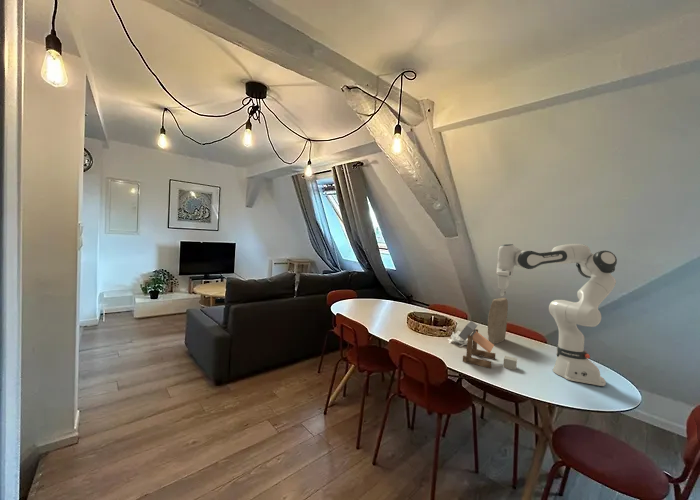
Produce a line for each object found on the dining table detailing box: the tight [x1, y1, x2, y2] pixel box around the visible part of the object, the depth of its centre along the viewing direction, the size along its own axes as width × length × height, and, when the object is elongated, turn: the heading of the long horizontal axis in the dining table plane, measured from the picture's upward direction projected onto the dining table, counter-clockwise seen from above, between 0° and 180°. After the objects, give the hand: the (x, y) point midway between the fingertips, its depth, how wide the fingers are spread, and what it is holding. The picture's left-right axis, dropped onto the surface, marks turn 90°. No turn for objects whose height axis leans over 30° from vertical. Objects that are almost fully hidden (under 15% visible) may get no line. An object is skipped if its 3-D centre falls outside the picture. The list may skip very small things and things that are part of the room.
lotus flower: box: [447, 330, 468, 348], centre depth 204 cm, size 14×15×9 cm
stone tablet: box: [487, 297, 509, 345], centre depth 212 cm, size 20×8×30 cm, turn 130°
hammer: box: [458, 320, 495, 353], centre depth 177 cm, size 18×14×8 cm
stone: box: [502, 355, 518, 371], centre depth 169 cm, size 5×5×6 cm
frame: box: [462, 328, 496, 369], centre depth 177 cm, size 14×18×15 cm
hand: (503, 295), depth 181 cm, fingers open, 8 cm apart
